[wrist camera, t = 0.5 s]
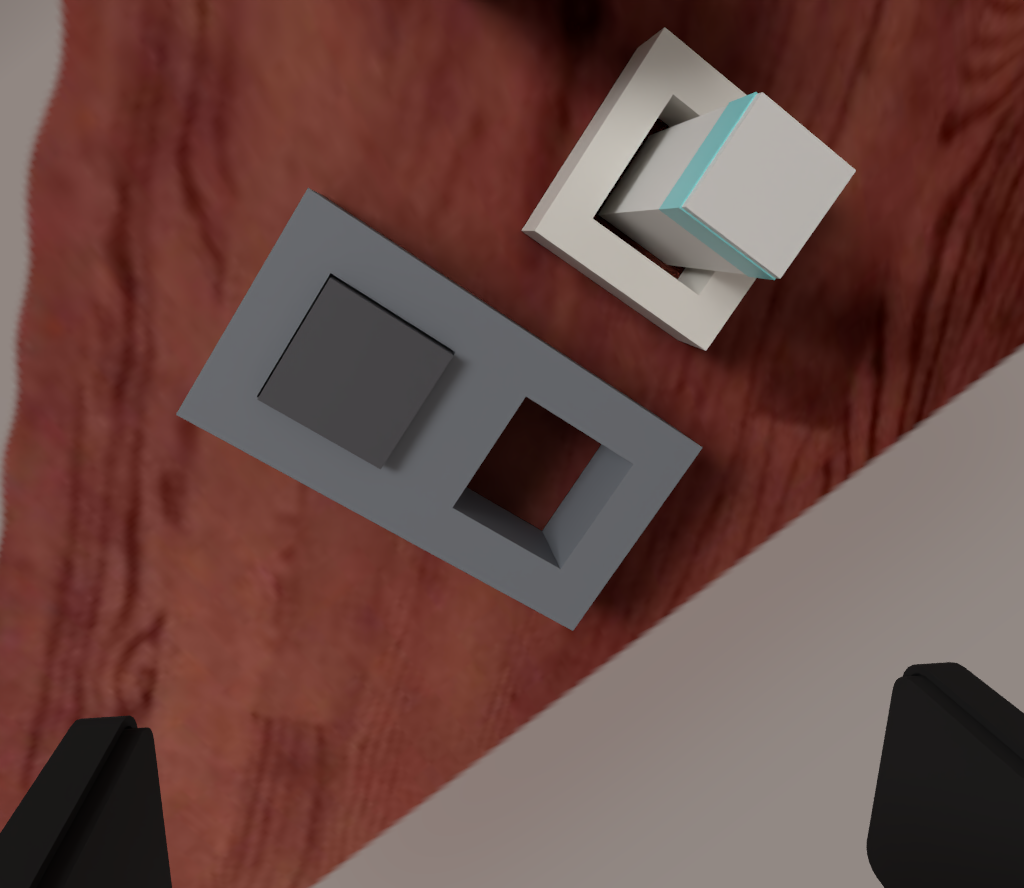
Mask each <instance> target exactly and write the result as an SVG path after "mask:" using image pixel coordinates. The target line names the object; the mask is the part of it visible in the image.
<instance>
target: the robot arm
mask: <svg viewBox="0 0 1024 888" xmlns="http://www.w3.org/2000/svg"><path fill="white" fill-rule="evenodd" d="M867 855H868V859H869V863H870V865H871V867H872V870H873V872H874V873H875V875H876V877H877V878H878V879H879V881H880V882H881V884H882V885H883V886H884V888H1024V713H1023V712H1021V711H1020V710H1019V709H1017V708H1016V707H1015V706H1014V705H1012V704H1011V703H1010V702H1008V701H1007V700H1006V699H1005V698H1003V697H1002V696H1000V695H999V694H998V693H997V692H995V691H994V690H993V689H992V688H990V687H989V686H988V685H986V684H985V683H984V682H982V681H981V680H980V679H979V678H978V677H976V676H975V675H973V674H972V673H971V672H970V671H968V670H967V669H966V668H965V667H963V666H961V665H959V664H958V663H951V662H948V663H932V664H917V665H912V666H910V667H908V668H907V669H906V671H905V672H904V675H903V677H900V678H898V679H897V680H896V682H895V684H894V687H893V691H892V697H891V703H890V709H889V715H888V721H887V726H886V733H885V739H884V745H883V750H882V756H881V762H880V768H879V773H878V779H877V785H876V791H875V797H874V803H873V809H872V815H871V820H870V827H869V833H868V838H867ZM0 888H172V884H171V875H170V867H169V859H168V851H167V843H166V835H165V826H164V818H163V810H162V802H161V794H160V786H159V778H158V769H157V761H156V753H155V745H154V738H153V733H152V731H151V729H150V728H137V724H136V722H135V720H134V718H133V717H131V716H117V717H102V718H86V719H79V720H76V721H75V722H74V723H73V725H72V726H71V727H70V729H69V730H68V732H67V733H66V735H65V736H64V738H63V739H62V741H61V742H60V744H59V745H58V747H57V748H56V750H55V751H54V753H53V754H52V756H51V757H50V759H49V760H48V762H47V763H46V765H45V766H44V768H43V769H42V771H41V772H40V774H39V775H38V777H37V778H36V780H35V782H34V783H33V785H32V786H31V788H30V789H29V791H28V792H27V794H26V795H25V797H24V798H23V800H22V801H21V803H20V804H19V806H18V807H17V809H16V810H15V812H14V813H13V815H12V816H11V818H10V819H9V821H8V822H7V824H6V825H5V827H4V828H3V830H2V832H1V833H0Z"/></svg>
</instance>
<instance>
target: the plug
mask: <svg viewBox="0 0 1024 888" xmlns="http://www.w3.org/2000/svg"><path fill="white" fill-rule="evenodd" d="M855 171H856V170H855V169H854V168H853V167H851V166H850V165H849V164H848V163H847V162H845V161H844V160H843V159H842V158H841V157H839V156H838V155H837V154H836V153H835V152H833V151H832V150H831V149H830V148H829V147H827V146H826V145H825V144H824V143H823V142H821V141H820V140H819V139H818V138H817V137H816V136H814V135H813V134H812V133H811V132H810V131H808V130H807V129H806V128H805V127H804V126H802V125H801V124H800V123H799V122H798V121H796V120H795V119H794V118H793V117H792V116H790V115H789V114H788V113H787V112H786V111H784V110H783V109H782V108H781V107H780V106H779V105H777V104H776V103H775V102H774V101H773V100H771V99H770V98H769V97H768V96H767V95H765V94H764V93H763V92H761V93H757V92H754V93H752V94H749V95H747V96H744V97H742V98H739V99H737V100H734V101H731V102H729V104H728V105H727V106H725V107H722V108H719V109H717V110H714V111H712V112H709V113H706V114H704V115H701V116H699V117H696V118H693V119H691V120H688V121H686V122H683V123H680V124H678V125H675V126H673V127H670V128H667V129H665V130H662V131H660V132H657V133H654V134H652V135H649V137H648V138H647V140H646V141H645V143H644V144H643V146H642V148H641V149H640V151H639V152H638V154H637V155H636V157H635V158H634V160H633V161H632V163H631V164H630V166H629V168H628V169H627V171H626V172H625V174H624V175H623V177H622V178H621V180H620V181H619V183H618V184H617V186H616V188H615V189H614V191H613V192H612V194H611V195H610V197H609V198H608V200H607V201H606V203H605V205H604V206H603V208H602V209H601V211H600V212H599V214H598V215H599V216H601V217H602V218H603V219H605V220H606V221H608V222H609V223H610V224H612V225H613V226H614V227H616V228H617V229H619V230H620V231H621V232H623V233H624V234H625V235H627V236H628V237H630V238H631V239H632V240H634V241H635V242H636V243H638V244H639V245H641V246H642V247H643V248H645V249H646V250H647V251H649V252H650V253H652V254H653V255H654V256H656V257H657V258H658V259H660V260H661V261H663V262H664V263H665V264H667V265H672V266H680V267H688V268H697V269H705V270H713V271H721V272H729V273H738V274H745V275H747V276H748V277H754V278H762V279H770V280H775V279H776V278H778V279H781V277H782V276H783V274H784V273H785V271H786V270H787V269H788V267H789V266H790V264H791V263H792V261H793V260H794V259H795V257H796V256H797V254H798V253H799V251H800V250H801V249H802V247H803V246H804V244H805V243H806V241H807V240H808V239H809V237H810V236H811V234H812V233H813V231H814V230H815V229H816V227H817V226H818V224H819V223H820V221H821V220H822V219H823V217H824V216H825V214H826V213H827V211H828V210H829V209H830V207H831V206H832V204H833V203H834V201H835V200H836V199H837V197H838V196H839V194H840V193H841V191H842V190H843V189H844V187H845V186H846V184H847V183H848V181H849V180H850V179H851V177H852V176H853V174H854V173H855Z"/></svg>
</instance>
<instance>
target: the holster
mask: <svg viewBox="0 0 1024 888" xmlns="http://www.w3.org/2000/svg"><path fill="white" fill-rule="evenodd" d="M744 96H747V95H746V94H745V93H743V92H742V91H741V90H740V89H739V88H737V87H736V86H735V85H734V84H733V83H731V82H730V81H729V80H728V79H727V78H725V77H724V76H723V75H722V74H721V73H719V72H718V71H717V70H716V69H715V68H713V67H712V66H711V65H710V64H709V63H707V62H706V61H705V60H704V59H703V58H701V57H700V56H699V55H698V54H697V53H695V52H694V51H693V50H692V49H690V48H689V47H688V46H687V45H686V44H684V43H683V42H682V41H681V40H680V39H678V38H677V37H676V36H675V35H674V34H672V33H671V32H670V31H669V30H668V29H666V28H665V27H664V28H663V29H661V30H660V31H659V32H658V33H656V34H655V35H654V36H652V37H651V38H650V39H648V40H647V41H646V42H645V43H643V44H642V45H641V46H639V47H638V48H637V49H636V51H635V53H634V54H633V56H632V57H631V59H630V60H629V62H628V64H627V65H626V67H625V68H624V70H623V71H622V73H621V75H620V76H619V78H618V79H617V81H616V82H615V84H614V86H613V87H612V89H611V90H610V92H609V94H608V95H607V97H606V98H605V100H604V101H603V103H602V105H601V106H600V108H599V109H598V111H597V112H596V114H595V116H594V117H593V119H592V120H591V122H590V123H589V125H588V127H587V128H586V130H585V131H584V133H583V134H582V136H581V138H580V139H579V141H578V142H577V144H576V145H575V147H574V149H573V150H572V152H571V153H570V155H569V157H568V158H567V160H566V161H565V163H564V164H563V166H562V168H561V169H560V171H559V172H558V174H557V175H556V177H555V179H554V180H553V182H552V183H551V185H550V186H549V188H548V190H547V191H546V193H545V194H544V196H543V197H542V199H541V201H540V202H539V204H538V205H537V207H536V208H535V210H534V212H533V213H532V215H531V216H530V218H529V220H528V221H527V223H526V224H525V226H524V227H523V229H522V232H524V233H525V234H527V235H528V236H529V237H531V238H532V239H534V240H535V241H537V242H538V243H539V244H541V245H542V246H544V247H545V248H547V249H548V250H549V251H551V252H552V253H554V254H555V255H557V256H558V257H560V258H561V259H562V260H564V261H565V262H567V263H568V264H570V265H571V266H572V267H574V268H575V269H577V270H578V271H580V272H581V273H582V274H584V275H585V276H587V277H588V278H590V279H591V280H592V281H594V282H595V283H597V284H598V285H600V286H601V287H603V288H604V289H605V290H607V291H608V292H610V293H611V294H613V295H614V296H615V297H617V298H618V299H620V300H621V301H623V302H624V303H625V304H627V305H628V306H630V307H631V308H633V309H634V310H635V311H637V312H638V313H640V314H641V315H643V316H644V317H645V318H647V319H648V320H650V321H651V322H653V323H654V324H656V325H657V326H658V327H660V328H661V329H663V330H664V331H666V332H667V333H668V334H670V335H671V336H673V337H674V338H676V339H677V340H679V341H682V342H684V343H687V344H689V345H692V346H694V347H697V348H700V349H702V350H705V351H706V350H707V349H708V347H709V346H710V344H711V343H712V342H713V340H714V339H715V337H716V336H717V334H718V333H719V331H720V330H721V329H722V327H723V326H724V324H725V323H726V321H727V320H728V319H729V317H730V316H731V314H732V313H733V311H734V310H735V308H736V307H737V306H738V304H739V303H740V301H741V300H742V298H743V297H744V295H745V294H746V293H747V291H748V290H749V288H750V287H751V285H752V284H753V282H754V281H755V280H756V278H754V277H748V276H747V275H745V274H738V273H729V272H721V271H713V270H705V269H697V268H688V267H686V268H685V269H684V271H683V272H682V274H681V275H680V277H679V278H678V279H676V278H674V277H673V276H671V275H670V274H669V273H667V272H666V271H665V270H663V269H662V268H660V267H659V266H658V265H656V264H655V263H654V262H652V261H651V260H649V259H648V258H647V257H645V256H644V255H642V254H641V253H640V252H638V251H637V250H636V249H634V248H633V247H631V246H630V245H629V244H627V243H626V242H625V241H623V240H622V239H620V238H619V237H618V236H616V235H615V234H613V233H612V232H611V231H609V230H608V229H607V228H605V227H604V226H602V225H601V224H600V223H598V222H597V221H596V220H594V219H593V217H594V216H595V214H596V213H597V211H598V209H599V208H600V206H601V205H602V203H603V202H604V200H605V199H606V197H607V196H608V194H609V192H610V191H611V189H612V188H613V186H614V185H615V183H616V182H617V180H618V179H619V177H620V176H621V174H622V172H623V171H624V169H625V168H626V166H627V165H628V163H629V162H630V160H631V159H632V157H633V155H634V154H635V152H636V151H637V149H638V148H639V146H640V145H641V143H642V142H643V140H644V139H645V137H646V135H647V134H648V132H649V131H650V129H651V128H652V126H653V125H654V123H655V122H656V120H657V119H658V118H659V119H660V120H662V121H663V122H664V123H665V124H667V125H668V126H669V127H673V126H675V125H678V124H680V123H683V122H686V121H688V120H691V119H693V118H696V117H699V116H701V115H704V114H706V113H709V112H712V111H714V110H717V109H719V108H722V107H725V106H727V105H728V104H729V102H731V101H734V100H737V99H739V98H742V97H744Z"/></svg>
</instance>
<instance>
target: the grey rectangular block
mask: <svg viewBox="0 0 1024 888" xmlns="http://www.w3.org/2000/svg"><path fill="white" fill-rule="evenodd" d="M525 397H528V398H529V399H531V400H532V401H534V402H536V403H537V404H539V405H540V406H542V407H544V408H545V409H547V410H548V411H550V412H551V413H553V414H555V415H556V416H558V417H559V418H561V419H563V420H564V421H566V422H567V423H569V424H571V425H572V426H574V427H575V428H577V429H578V430H580V431H582V432H583V433H585V434H586V435H588V436H590V437H591V438H593V439H594V440H596V441H597V442H599V443H601V446H600V447H599V449H598V450H597V452H596V453H595V455H594V456H593V458H592V459H591V460H590V462H589V463H588V465H587V466H586V468H585V469H584V471H583V472H582V474H581V475H580V477H579V478H578V479H577V481H576V482H575V484H574V485H573V487H572V488H571V490H570V491H569V493H568V494H567V496H566V497H565V498H564V500H563V501H562V503H561V504H560V506H559V507H558V509H557V510H556V512H555V513H554V514H553V516H552V517H551V519H550V520H549V522H548V523H547V525H546V526H545V528H544V529H543V531H541V530H539V529H538V528H536V527H534V526H533V525H531V524H529V523H527V522H526V521H524V520H522V519H520V518H519V517H517V516H515V515H514V514H512V513H510V512H508V511H507V510H505V509H503V508H501V507H500V506H498V505H496V504H495V503H493V502H491V501H489V500H488V499H486V498H484V497H483V496H481V495H479V494H477V493H476V492H474V491H472V490H470V489H469V488H467V487H466V486H467V485H468V483H469V482H470V480H471V479H472V477H473V476H474V474H475V473H476V471H477V470H478V468H479V467H480V465H481V464H482V462H483V461H484V459H485V458H486V456H487V455H488V453H489V452H490V450H491V449H492V447H493V446H494V444H495V442H496V441H497V439H498V438H499V436H500V435H501V433H502V432H503V430H504V429H505V427H506V426H507V424H508V423H509V421H510V420H511V418H512V417H513V415H514V414H515V412H516V411H517V409H518V408H519V406H520V405H521V403H522V402H523V400H524V399H525ZM176 415H178V416H180V417H182V418H183V419H185V420H187V421H189V422H191V423H193V424H194V425H196V426H198V427H200V428H202V429H204V430H205V431H207V432H209V433H211V434H213V435H215V436H216V437H218V438H220V439H222V440H224V441H226V442H227V443H229V444H231V445H233V446H235V447H237V448H238V449H240V450H242V451H244V452H246V453H248V454H249V455H251V456H253V457H255V458H257V459H259V460H260V461H262V462H264V463H266V464H268V465H270V466H271V467H273V468H275V469H277V470H279V471H281V472H282V473H284V474H286V475H288V476H290V477H292V478H293V479H295V480H297V481H299V482H301V483H303V484H304V485H306V486H308V487H310V488H312V489H314V490H315V491H317V492H319V493H321V494H323V495H325V496H326V497H328V498H330V499H332V500H334V501H336V502H337V503H339V504H341V505H343V506H345V507H347V508H348V509H350V510H352V511H354V512H356V513H358V514H359V515H361V516H363V517H365V518H367V519H369V520H370V521H372V522H374V523H376V524H378V525H380V526H381V527H383V528H385V529H387V530H389V531H391V532H392V533H394V534H396V535H398V536H400V537H402V538H403V539H405V540H407V541H409V542H411V543H413V544H414V545H416V546H418V547H420V548H422V549H424V550H425V551H427V552H429V553H431V554H433V555H435V556H436V557H438V558H440V559H442V560H444V561H446V562H447V563H449V564H451V565H453V566H455V567H457V568H458V569H460V570H462V571H464V572H466V573H468V574H470V575H471V576H473V577H475V578H477V579H479V580H481V581H482V582H484V583H486V584H488V585H490V586H492V587H493V588H495V589H497V590H499V591H501V592H503V593H504V594H506V595H508V596H510V597H512V598H514V599H515V600H517V601H519V602H521V603H523V604H525V605H526V606H528V607H530V608H532V609H534V610H536V611H537V612H539V613H541V614H543V615H545V616H547V617H548V618H550V619H552V620H554V621H556V622H558V623H559V624H561V625H563V626H565V627H567V628H569V629H570V630H572V631H573V630H574V629H575V627H576V626H577V624H578V623H579V621H580V620H581V619H582V617H583V616H584V614H585V613H586V612H587V610H588V609H589V607H590V606H591V605H592V603H593V602H594V600H595V599H596V597H597V596H598V595H599V593H600V592H601V590H602V589H603V588H604V586H605V585H606V583H607V582H608V581H609V579H610V578H611V576H612V575H613V573H614V572H615V571H616V569H617V568H618V566H619V565H620V564H621V562H622V561H623V559H624V558H625V557H626V555H627V554H628V552H629V551H630V549H631V548H632V547H633V545H634V544H635V542H636V541H637V540H638V538H639V537H640V535H641V534H642V533H643V531H644V530H645V528H646V527H647V525H648V524H649V523H650V521H651V520H652V518H653V517H654V516H655V514H656V513H657V511H658V510H659V509H660V507H661V506H662V504H663V503H664V501H665V500H666V499H667V497H668V496H669V494H670V493H671V492H672V490H673V489H674V487H675V486H676V485H677V483H678V482H679V480H680V479H681V477H682V476H683V475H684V473H685V472H686V470H687V469H688V468H689V466H690V465H691V463H692V462H693V461H694V459H695V458H696V456H697V455H698V453H699V452H700V451H701V449H702V448H703V447H701V446H700V445H698V444H697V443H695V442H694V441H693V440H691V439H690V438H688V437H687V436H686V435H684V434H683V433H681V432H680V431H679V430H677V429H676V428H674V427H673V426H671V425H670V424H669V423H667V422H666V421H664V420H663V419H661V418H660V417H658V416H657V415H655V414H654V413H652V412H650V411H649V410H647V409H646V408H644V407H643V406H641V405H640V404H638V403H637V402H635V401H634V400H632V399H631V398H629V397H628V396H626V395H625V394H623V393H622V392H620V391H619V390H617V389H616V388H614V387H613V386H611V385H610V384H608V383H606V382H605V381H603V380H602V379H600V378H599V377H597V376H596V375H594V374H593V373H591V372H590V371H588V370H587V369H585V368H584V367H582V366H581V365H579V364H578V363H576V362H575V361H573V360H572V359H570V358H569V357H567V356H565V355H564V354H562V353H561V352H559V351H558V350H556V349H555V348H553V347H552V346H550V345H549V344H547V343H546V342H544V341H543V340H541V339H540V338H538V337H537V336H535V335H534V334H532V333H531V332H529V331H528V330H526V329H524V328H523V327H521V326H520V325H518V324H517V323H515V322H514V321H512V320H511V319H509V318H508V317H506V316H505V315H503V314H502V313H500V312H499V311H497V310H496V309H494V308H493V307H491V306H490V305H488V304H487V303H485V302H484V301H482V300H480V299H479V298H477V297H476V296H474V295H473V294H471V293H470V292H468V291H467V290H465V289H464V288H462V287H461V286H459V285H458V284H456V283H455V282H453V281H452V280H450V279H449V278H447V277H446V276H444V275H443V274H441V273H439V272H438V271H436V270H435V269H433V268H432V267H430V266H429V265H427V264H426V263H424V262H423V261H421V260H420V259H418V258H417V257H415V256H414V255H412V254H411V253H409V252H408V251H406V250H405V249H403V248H402V247H400V246H398V245H397V244H395V243H394V242H392V241H391V240H389V239H388V238H386V237H385V236H383V235H382V234H380V233H379V232H377V231H376V230H374V229H373V228H371V227H370V226H368V225H367V224H365V223H364V222H362V221H361V220H359V219H358V218H356V217H354V216H353V215H351V214H350V213H348V212H347V211H345V210H344V209H342V208H341V207H339V206H338V205H336V204H335V203H333V202H332V201H330V200H329V199H327V198H326V197H324V196H323V195H321V194H319V193H317V192H315V191H313V190H311V189H309V188H308V189H307V191H306V193H305V194H304V196H303V198H302V199H301V201H300V203H299V205H298V206H297V208H296V210H295V211H294V213H293V215H292V217H291V218H290V220H289V222H288V223H287V225H286V227H285V229H284V230H283V232H282V234H281V235H280V237H279V239H278V241H277V242H276V244H275V246H274V247H273V249H272V251H271V253H270V254H269V256H268V258H267V259H266V261H265V263H264V265H263V266H262V268H261V270H260V271H259V273H258V275H257V277H256V278H255V280H254V282H253V283H252V285H251V287H250V289H249V290H248V292H247V294H246V295H245V297H244V299H243V301H242V302H241V304H240V306H239V307H238V309H237V311H236V313H235V314H234V316H233V318H232V319H231V321H230V323H229V325H228V326H227V328H226V330H225V332H224V333H223V335H222V337H221V338H220V340H219V342H218V344H217V345H216V347H215V349H214V350H213V352H212V354H211V356H210V357H209V359H208V361H207V362H206V364H205V366H204V368H203V369H202V371H201V373H200V374H199V376H198V378H197V380H196V381H195V383H194V385H193V386H192V388H191V390H190V392H189V393H188V395H187V397H186V398H185V400H184V402H183V404H182V405H181V407H180V409H179V410H178V412H177V414H176Z"/></svg>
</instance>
